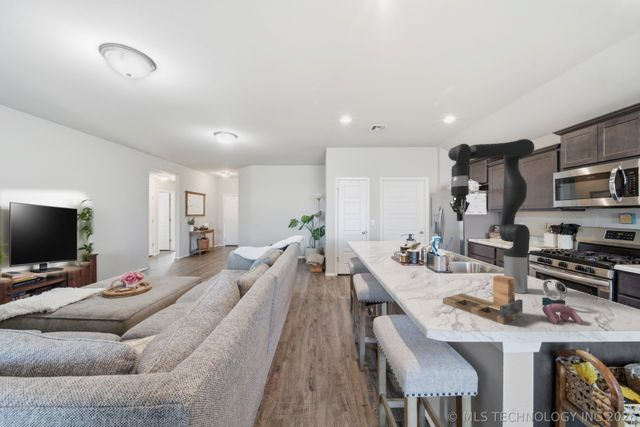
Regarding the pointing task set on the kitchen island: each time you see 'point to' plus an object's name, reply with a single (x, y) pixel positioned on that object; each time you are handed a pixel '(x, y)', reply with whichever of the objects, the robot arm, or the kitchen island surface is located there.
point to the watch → (558, 288)
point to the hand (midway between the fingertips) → (460, 221)
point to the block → (503, 290)
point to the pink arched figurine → (564, 313)
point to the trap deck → (486, 307)
